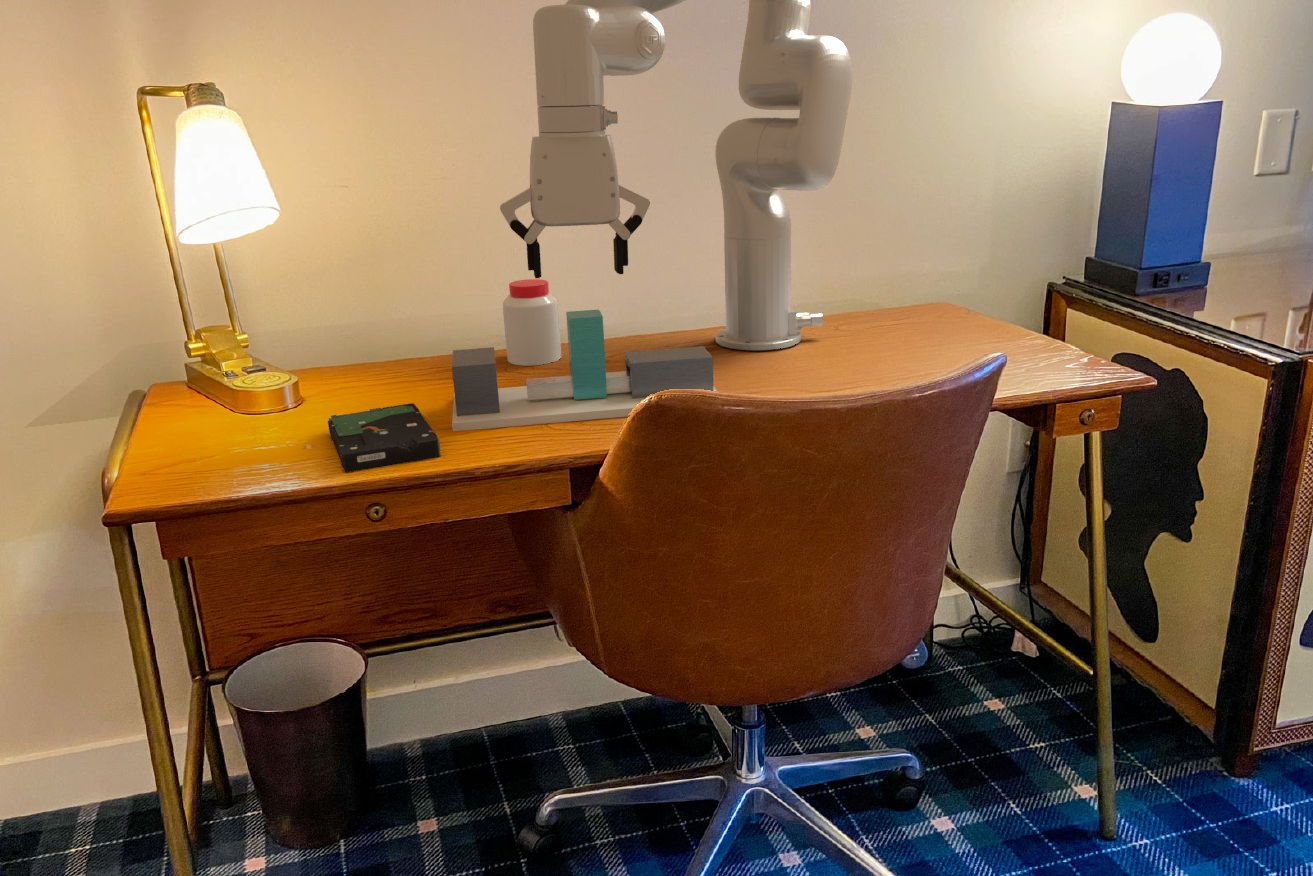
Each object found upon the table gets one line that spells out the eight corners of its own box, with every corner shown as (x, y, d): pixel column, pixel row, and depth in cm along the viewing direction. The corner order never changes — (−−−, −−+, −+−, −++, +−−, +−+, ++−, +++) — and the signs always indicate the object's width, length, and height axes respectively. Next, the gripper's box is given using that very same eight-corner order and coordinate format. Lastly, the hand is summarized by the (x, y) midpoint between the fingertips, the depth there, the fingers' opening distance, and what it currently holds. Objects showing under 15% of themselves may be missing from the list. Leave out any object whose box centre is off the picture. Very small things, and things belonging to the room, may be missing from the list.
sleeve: (704, 379, 136) (703, 346, 134) (713, 391, 130) (712, 357, 129) (626, 386, 134) (624, 352, 133) (632, 398, 129) (631, 363, 127)
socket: (498, 393, 133) (494, 347, 131) (499, 412, 126) (495, 363, 124) (457, 397, 132) (453, 350, 130) (456, 416, 125) (451, 366, 123)
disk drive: (443, 462, 115) (416, 422, 128) (441, 438, 114) (413, 400, 127) (345, 479, 111) (327, 436, 124) (342, 454, 110) (324, 414, 123)
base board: (702, 379, 139) (702, 371, 139) (724, 408, 127) (724, 400, 127) (454, 399, 135) (454, 391, 135) (453, 431, 123) (452, 423, 122)
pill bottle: (565, 351, 156) (560, 277, 152) (556, 365, 149) (550, 287, 145) (514, 352, 157) (507, 278, 153) (501, 366, 150) (495, 288, 146)
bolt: (693, 380, 134) (691, 302, 131) (700, 389, 131) (698, 309, 127) (527, 394, 132) (520, 314, 128) (528, 403, 128) (522, 322, 125)
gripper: (642, 120, 125) (646, 266, 130) (493, 124, 122) (503, 273, 128) (652, 121, 118) (656, 276, 123) (494, 126, 115) (505, 283, 121)
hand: (578, 274), depth 125 cm, fingers open, 9 cm apart
